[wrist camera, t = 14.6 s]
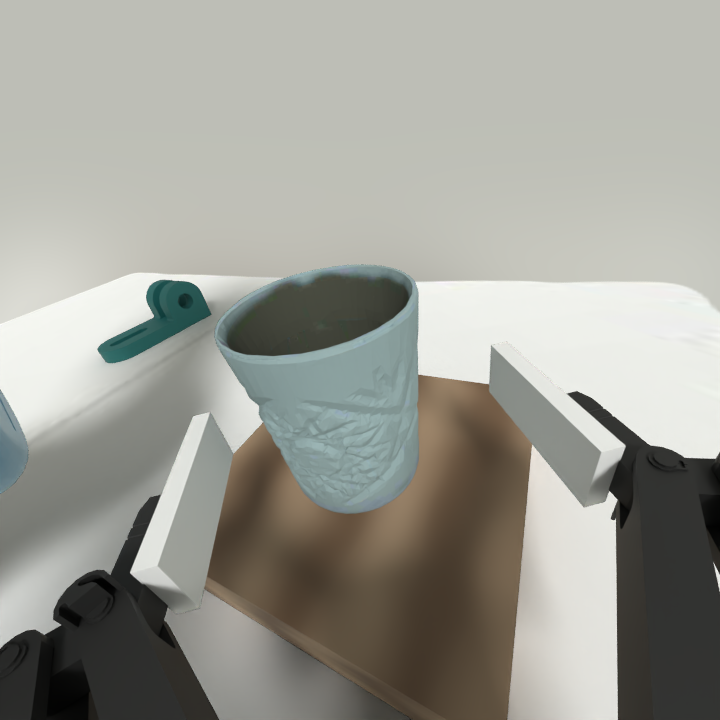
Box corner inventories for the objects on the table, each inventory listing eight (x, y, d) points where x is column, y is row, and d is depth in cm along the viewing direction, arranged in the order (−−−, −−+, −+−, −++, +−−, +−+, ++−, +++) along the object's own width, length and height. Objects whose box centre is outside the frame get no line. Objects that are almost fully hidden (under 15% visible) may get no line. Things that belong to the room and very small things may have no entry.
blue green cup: (379, 393, 29) (353, 253, 22) (468, 469, 21) (467, 288, 14) (268, 452, 25) (199, 306, 19) (323, 570, 17) (237, 390, 11)
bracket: (191, 312, 67) (173, 274, 63) (211, 315, 64) (193, 275, 59) (98, 359, 55) (68, 317, 51) (116, 367, 52) (86, 322, 48)
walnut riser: (180, 574, 23) (151, 542, 20) (328, 391, 37) (320, 361, 35) (497, 772, 13) (503, 753, 11) (531, 428, 28) (536, 390, 26)
